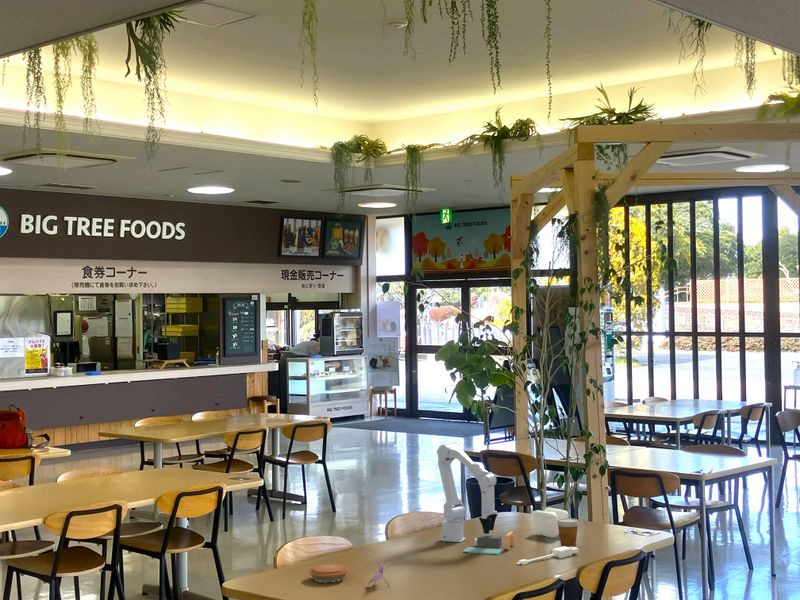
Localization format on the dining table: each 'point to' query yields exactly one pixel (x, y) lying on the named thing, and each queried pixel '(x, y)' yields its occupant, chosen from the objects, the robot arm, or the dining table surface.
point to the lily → (379, 574)
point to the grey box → (488, 541)
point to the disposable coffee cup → (568, 531)
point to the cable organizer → (547, 521)
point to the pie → (328, 572)
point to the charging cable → (555, 554)
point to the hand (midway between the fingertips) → (488, 531)
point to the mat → (483, 550)
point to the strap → (509, 540)
